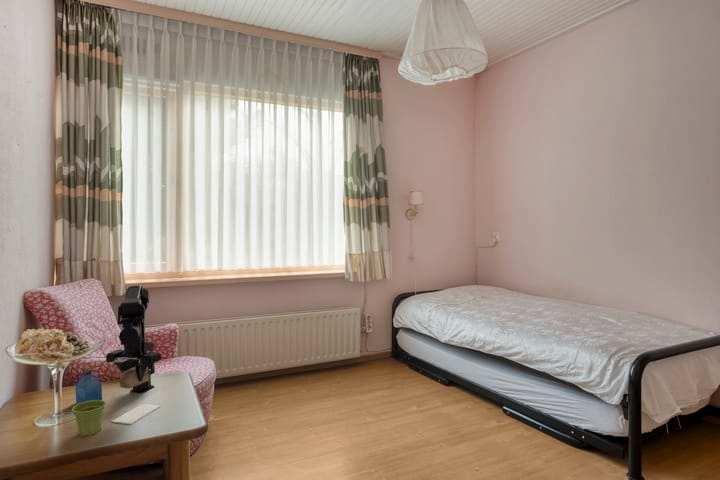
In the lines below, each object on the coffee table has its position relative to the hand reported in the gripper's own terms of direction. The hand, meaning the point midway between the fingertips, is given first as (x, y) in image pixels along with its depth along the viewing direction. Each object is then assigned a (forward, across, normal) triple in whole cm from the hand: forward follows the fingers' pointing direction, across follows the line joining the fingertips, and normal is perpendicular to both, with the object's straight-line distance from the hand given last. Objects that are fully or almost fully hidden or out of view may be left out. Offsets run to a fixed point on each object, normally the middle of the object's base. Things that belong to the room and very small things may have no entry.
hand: (134, 380), depth 154 cm
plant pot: (+12, +6, +14) cm, 19 cm away
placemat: (+12, 0, 0) cm, 12 cm away
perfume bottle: (+12, +27, -6) cm, 30 cm away
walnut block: (+1, 0, 0) cm, 1 cm away
